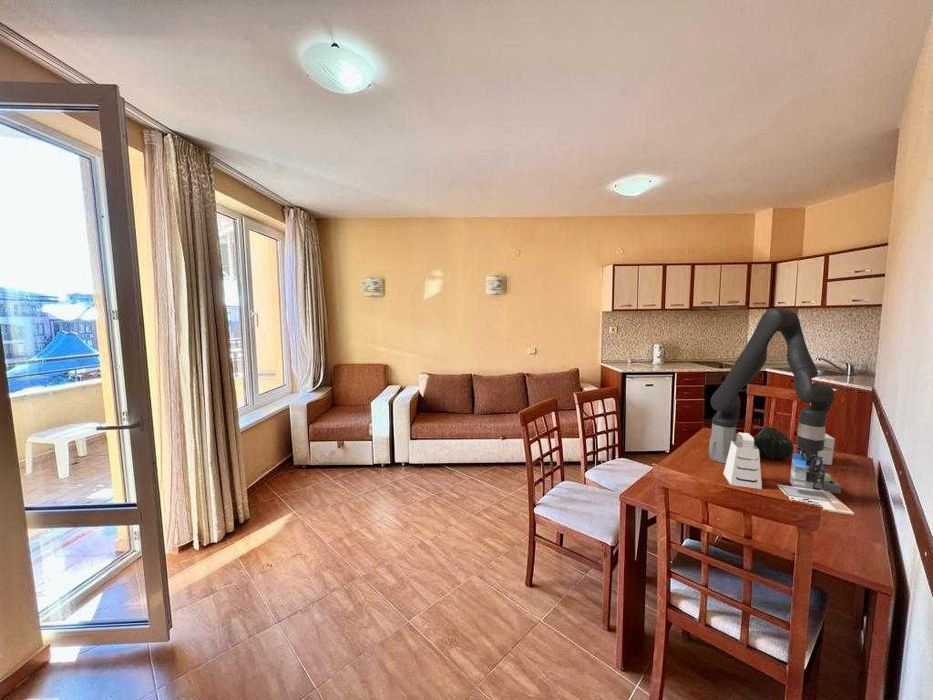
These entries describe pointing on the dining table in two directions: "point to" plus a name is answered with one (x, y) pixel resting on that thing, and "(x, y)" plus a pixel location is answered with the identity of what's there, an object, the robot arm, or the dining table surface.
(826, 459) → the supplement box
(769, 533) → the dining table surface
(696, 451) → the dining table surface
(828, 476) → the button
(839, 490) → the button housing
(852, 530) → the dining table surface
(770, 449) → the squash
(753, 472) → the grater
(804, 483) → the label tape box
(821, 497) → the picture board
